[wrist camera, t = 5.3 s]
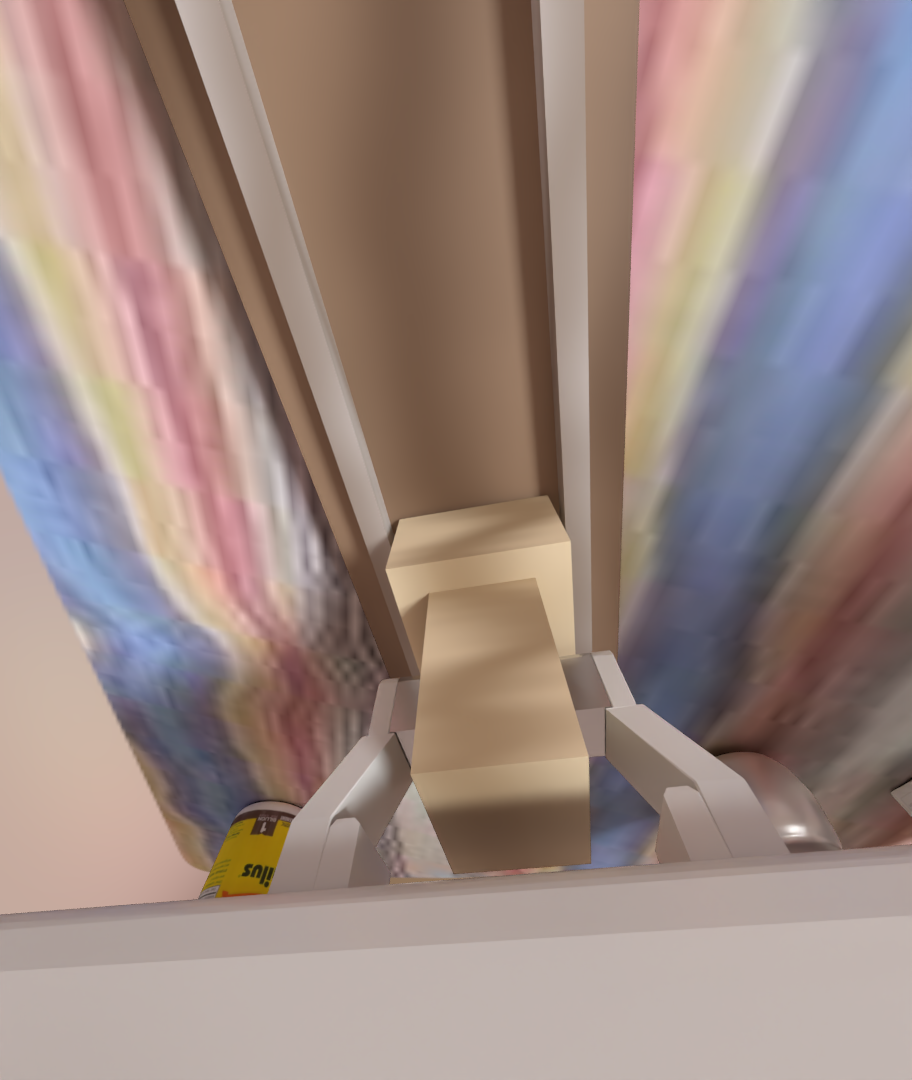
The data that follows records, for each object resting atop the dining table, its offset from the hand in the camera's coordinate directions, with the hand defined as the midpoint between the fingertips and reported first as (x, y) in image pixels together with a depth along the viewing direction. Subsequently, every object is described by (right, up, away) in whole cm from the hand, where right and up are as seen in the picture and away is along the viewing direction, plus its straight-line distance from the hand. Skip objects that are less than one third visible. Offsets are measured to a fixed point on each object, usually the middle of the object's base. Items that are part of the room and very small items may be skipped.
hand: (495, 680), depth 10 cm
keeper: (0, +2, +4) cm, 5 cm away
